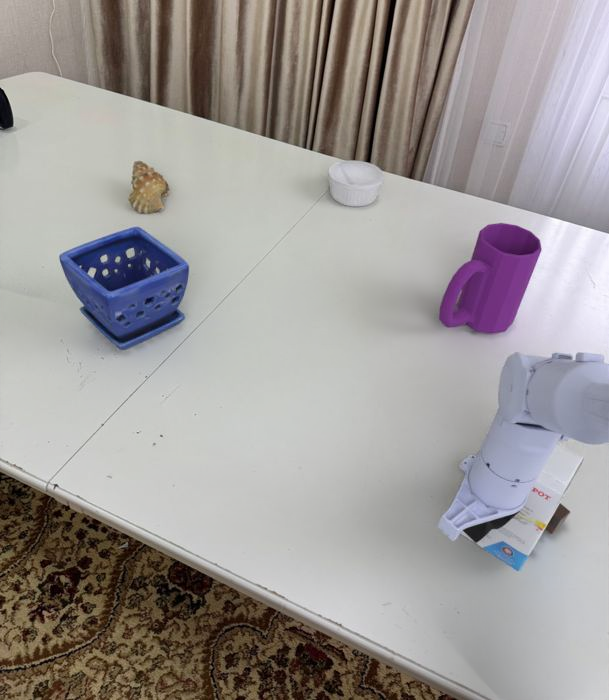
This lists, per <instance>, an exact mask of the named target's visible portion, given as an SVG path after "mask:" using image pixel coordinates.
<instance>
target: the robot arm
mask: <svg viewBox="0 0 609 700" xmlns="http://www.w3.org/2000/svg"><path fill="white" fill-rule="evenodd" d="M497 403H498V408H497V409H496V412H495V414H494V417H493V419H492V421H491V423H490V425H489V427H488V430H487V433H486V435H485V436H484V439H483V440H482V441H483V442H482V443H481V446H480V448H479V451H478V453H477V455H475V454H469V455H468V456H466V457H465V458H464V459H462V461H461V463H460V465H459V466H460V469H461V470H462V471H463V472H464V474H465V476H464V478H463V480H462V482H461V484H460V486H459V487H458V490H457V492H456V494H455V497H454V498H453V501H452V503H451V504H450V505H449V508H447V510H446V511H445V512H444V513H443V514H442V515H441V517H440V519H439V521H438V523H437V528H438V529H439V531H441V532H442V533H443V534H444V535H445V536H446V537H448V539H450V540H451V542H454V541H455V540H457V539H458V538H459V537H460V535H461V531H464V532H465V533H466V534H467V535H468V536H469V537H470V538H471V539H472V540H473V541H474V542H475V544H476V543H477V542H479V541H480V540H481V539H482V538H483V537H485V536H486V535H487V534H488V533H489V532H490V531H491V530H492V529H499V528H501V527H503V526H504V525H505V524H506V523H508V522H509V521H510V520H511V519H512V518H513V517H514V516H516V515H517V514H518V513H519V512H520V510H521V509H522V508H523V506H524V505H525V503H526V501H527V499H528V497H529V494H530V491H531V489H532V487H533V485H534V483H535V482H536V480H537V478H538V476H539V475H540V473H541V471H542V469H543V468H544V466H545V464H546V463H547V461H548V459H549V457H550V456H551V454H552V452H553V450H554V449H555V447H556V445H557V444H559V442H563V441H564V442H567V441H568V440H569V439H571V440H574V441H576V442H580V443H583V444H585V445H592V446H594V445H596V446H597V445H598V446H599V445H605V444H608V443H609V363H606V362H605V355H604V354H601V353H600V354H599V353H590V352H580V351H579V352H576V353H575V359H574V356H573V354H572V353H564V352H553V353H552V354H551V357H549V356H539V355H531V354H525V353H521V352H520V351H516V352H514V353H512V354H509V356H508V357H507V358H506V359H505V361H504V363H503V366H502V368H501V371H500V376H499V381H498V390H497ZM473 541H472V542H473ZM474 542H473V543H474Z"/></svg>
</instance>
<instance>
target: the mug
mask: <svg viewBox="0 0 609 700" xmlns="http://www.w3.org/2000/svg"><path fill="white" fill-rule="evenodd" d="M541 253H542V243H541V239H539V237H537V236H536V235H535V234H534V233H533V232H532V231H531V230H529V229H527V228H524V227H521V226H520V225H517V224H511V223H505V222H497V223H489V224H487V225H485V226H484V227H483V228H481V229H480V230H479V232H478V236H477V239H476V242H475V245H474V249H473V252H472V255H471V259H470V260H469V261H467V262H465V263H463V264H462V265H461V266H460V267H459V268H458V269H456V271H455V273H453V275H452V277H451V279H450V280H449V283H448V284H447V287H446V289H445V291H444V294H443V296H442V299H441V303H440V307H439V313H438V314H439V315H438V320H439V321H440V322H441V323H442V325H443V326H444V327H445V328H448V329H449V328H451V329H453V328H457V327H461V326H463V325H466V326H468V327H469V328H471V329H472V330H473V331H476V332H478V333H484V334H489V335H495V334H498V333H504V332H506V331H507V330H508V329H509V328H510V327H511V326H512V325H513V324H514V322H515V319H516V317H517V314H518V311H519V309H520V307H521V304H522V301H523V299H524V296H525V294H526V292H527V288H528V286H529V284H530V281H531V278H532V276H533V273H534V271H535V269H536V265H537V263H538V260H539V258H540V256H541ZM455 307H456V310H455Z"/></svg>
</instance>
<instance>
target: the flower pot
mask: <svg viewBox="0 0 609 700" xmlns="http://www.w3.org/2000/svg"><path fill="white" fill-rule="evenodd" d="M131 249H133V251H134V255H133V256H129V257H128V254H127V251H129V250H131ZM105 255H106V258H107V259H106V260H105V261H103V262H102V260H101V258H102V257H104V256H105ZM117 258H119V261H116V259H117ZM58 259H59V263H60V266H61V268H62V271H63V274H64V276H65V279H66V280H67V283H68V284H69V286H70V288H71V289H72V291H73V293H74V295H75V296H76V297H77V298H78V300H79V301H80V302H81V304H82V306H81V307H80V308H79V311H80V313H81V314H82V315H83V316H84V317H85V318H86V319H87V321H89V322H90V323H91V324H92V325H93V326H95V328H96V329H97V330H98V331H99V332H100V333H101V334H102V335H103V336H104V337H105V338H106V339H107V340H109V341H110V343H112V344H113V345H114V346H115V347H116V348H118V349H119V350H120V351H126V350H128V349H130V348H132V347H136V346H137V345H139V344H141V343H143V342H145V341H148V340H149V339H152V338H154V337H156V336H158V335H160V334H162V333H164V332H166V331H168V330H171V329H172V328H174V327H176V326H178V325H179V324H181V323H182V322H183V321H184V320H185V319H186V315H185V314H184V312H183V311H181V310H180V309H179V306H180V305H181V303H182V301H183V298H184V296H185V293H186V290H187V286H188V283H189V282H188V281H189V276H190V274H189V273H190V264H189V263H188V262H187V261H186V260H185V259H184V258H182V256H180V255H179V254H178V253H177V252H175V251H174V250H173V249H171V248H170V247H169V246H167V245H166V244H164V243H163V242H161V241H160V240H159V239H157V238H156V237H154V236H153V235H152V234H150V233H149V232H147V231H146V230H145V229H143V228H141V227H140V226H132V227H128V228H126V229H123V230H120V231H117V232H116V231H115V232H114V233H110V234H108V235H106V236H102V237H100V238H97V239H94V240H91V241H88V242H85V243H83V244H80V245H77V246H75V247H72V248H70V249H68V250H65V251H64V252H62V253H60V254H59V256H58ZM147 260H148V261H149V265H148V264H147ZM129 265H130V266H129ZM90 269H95V271H94V275H93V277H92V276H91V275H90V274H89V271H90ZM157 269H158V271H159V272H157ZM106 270H107V274H106V275H104V271H106ZM116 270H117V271H116Z"/></svg>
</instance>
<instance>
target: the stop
mask: <svg viewBox="0 0 609 700" xmlns="http://www.w3.org/2000/svg"><path fill="white" fill-rule="evenodd" d="M570 514H571V510H569V509H568V508H567V507H566V506H565V505H563V504H562V503H561V502H560V504H559V506H558V507H557V509H556V511H555V513H554V514H553V516H552V518H551V520H550V521H549V523H548V525H547V526H546V528H545V530H546V531H547V532H549V533H550V534H551V535H553V534H554V533H555V532H557V531H558V530H559V529H560V528H561V527H562V526H563V524H564V523H565V521H566V519H567V518H568V517H569V515H570Z"/></svg>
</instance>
